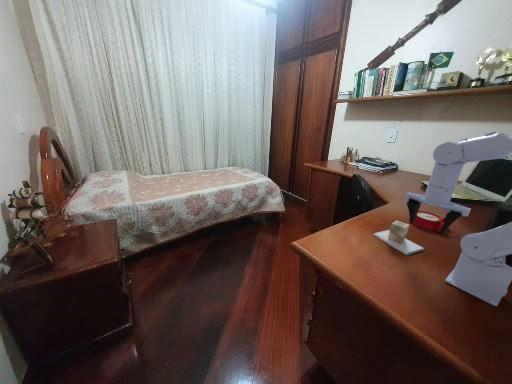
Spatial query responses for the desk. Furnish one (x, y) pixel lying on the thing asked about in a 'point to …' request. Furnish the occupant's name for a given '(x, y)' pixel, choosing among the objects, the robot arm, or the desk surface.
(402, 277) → the desk surface
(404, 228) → the birch block
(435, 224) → the alarm clock
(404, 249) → the external hard drive
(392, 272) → the desk surface
